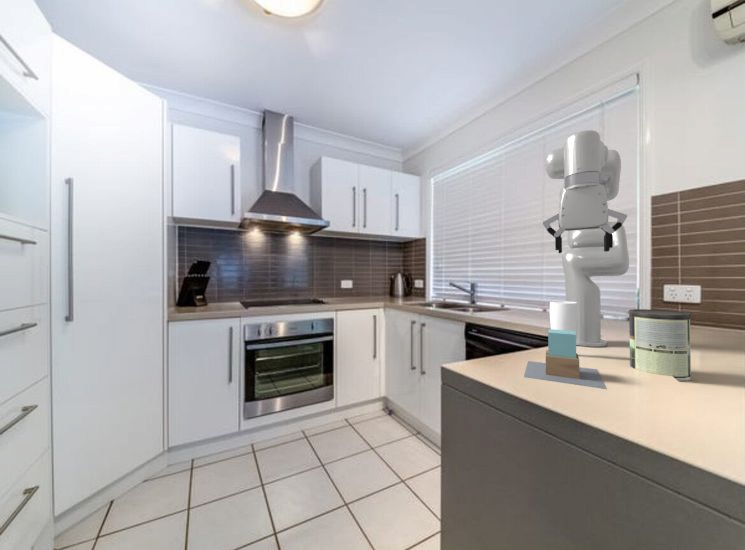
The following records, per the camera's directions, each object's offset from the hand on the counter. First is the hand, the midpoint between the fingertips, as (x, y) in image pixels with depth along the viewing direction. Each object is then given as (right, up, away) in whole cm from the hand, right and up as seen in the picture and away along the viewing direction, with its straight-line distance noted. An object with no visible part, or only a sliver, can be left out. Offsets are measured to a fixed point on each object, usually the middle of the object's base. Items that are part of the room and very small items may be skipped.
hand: (582, 252), depth 76 cm
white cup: (0, -29, +8) cm, 29 cm away
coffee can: (+12, -28, -7) cm, 32 cm away
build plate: (-11, -28, -10) cm, 32 cm away
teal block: (-11, -23, -10) cm, 27 cm away
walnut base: (-11, -27, -10) cm, 31 cm away
